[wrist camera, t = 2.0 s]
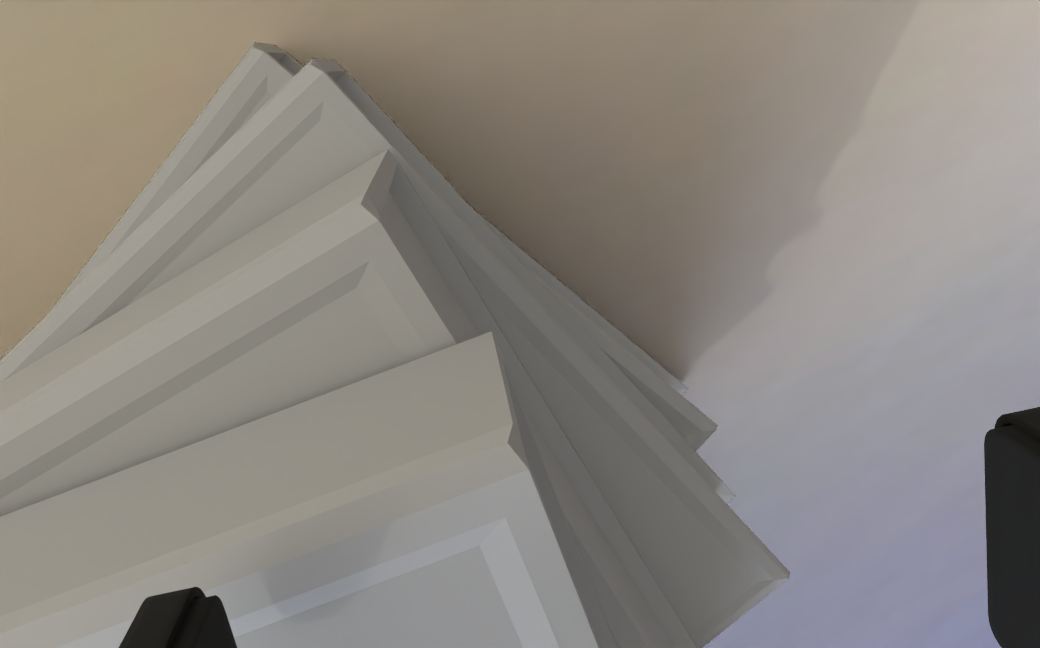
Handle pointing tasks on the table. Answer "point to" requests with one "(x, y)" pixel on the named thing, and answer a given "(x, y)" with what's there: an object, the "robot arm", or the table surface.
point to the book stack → (349, 415)
